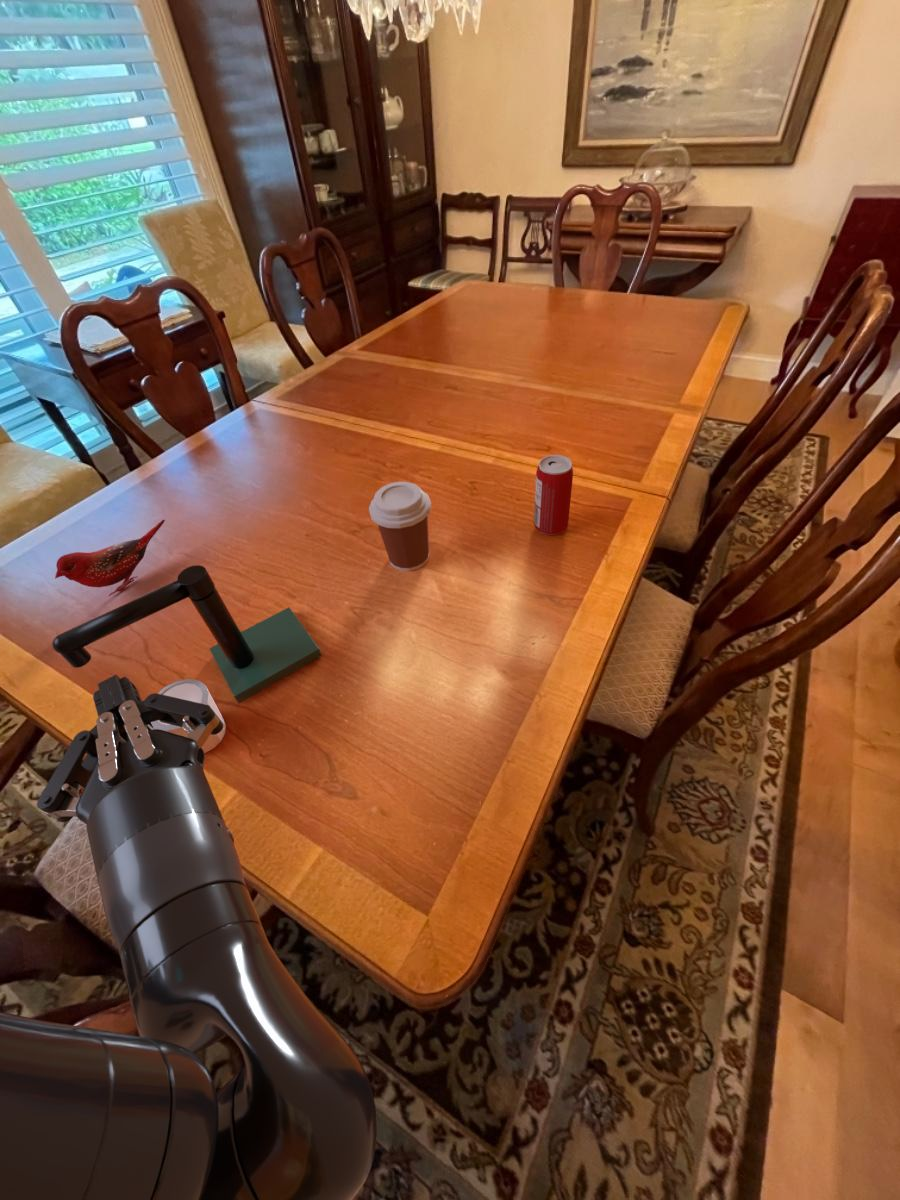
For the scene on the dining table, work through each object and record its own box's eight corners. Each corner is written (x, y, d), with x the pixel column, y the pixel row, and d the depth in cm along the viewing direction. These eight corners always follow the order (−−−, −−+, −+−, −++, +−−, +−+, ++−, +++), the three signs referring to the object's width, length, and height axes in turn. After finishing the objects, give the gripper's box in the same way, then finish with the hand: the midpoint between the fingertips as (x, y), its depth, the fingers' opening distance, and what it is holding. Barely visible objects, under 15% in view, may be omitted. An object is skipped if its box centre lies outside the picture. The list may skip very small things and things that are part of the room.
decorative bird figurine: (81, 611, 83) (40, 563, 75) (176, 545, 92) (148, 497, 85) (91, 618, 81) (50, 570, 74) (186, 550, 91) (158, 502, 84)
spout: (73, 675, 57) (49, 651, 54) (68, 656, 58) (44, 632, 56) (224, 601, 63) (210, 575, 60) (215, 586, 64) (201, 561, 61)
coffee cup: (426, 581, 81) (416, 518, 72) (371, 571, 83) (355, 509, 75) (445, 543, 87) (438, 480, 78) (394, 535, 89) (381, 473, 81)
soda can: (574, 528, 87) (582, 464, 78) (547, 541, 85) (551, 477, 76) (554, 511, 90) (559, 448, 81) (527, 523, 89) (529, 459, 80)
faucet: (238, 703, 68) (189, 629, 58) (213, 654, 74) (164, 580, 64) (322, 655, 73) (290, 579, 62) (292, 613, 79) (258, 537, 68)
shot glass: (162, 749, 65) (132, 719, 60) (199, 703, 69) (175, 671, 64) (206, 767, 62) (179, 737, 57) (242, 718, 67) (220, 687, 62)
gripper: (243, 772, 34) (169, 616, 44) (16, 913, 29) (-7, 702, 40) (281, 818, 39) (207, 669, 50) (94, 943, 35) (56, 751, 45)
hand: (112, 684), depth 45 cm, fingers closed
